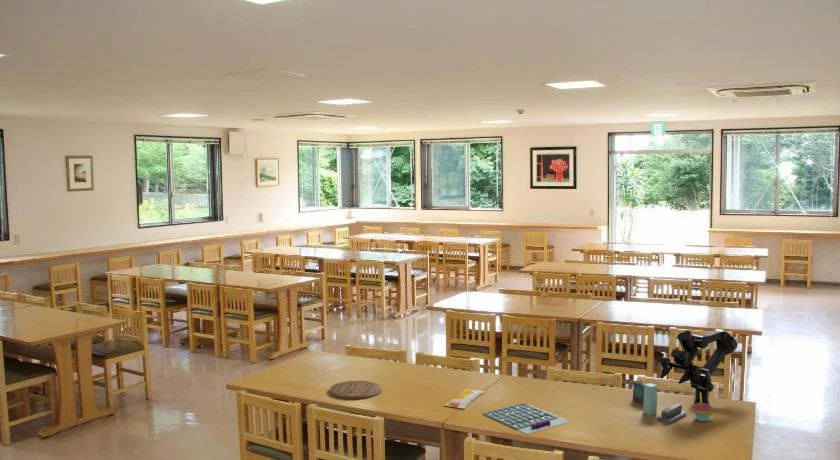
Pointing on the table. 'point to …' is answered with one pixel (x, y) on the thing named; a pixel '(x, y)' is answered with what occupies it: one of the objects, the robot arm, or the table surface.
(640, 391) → the blue gift bag
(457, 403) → the food package
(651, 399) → the peg
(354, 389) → the trivet
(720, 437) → the table surface
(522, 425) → the calendar
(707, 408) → the cupcake
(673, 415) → the grey stepped block
